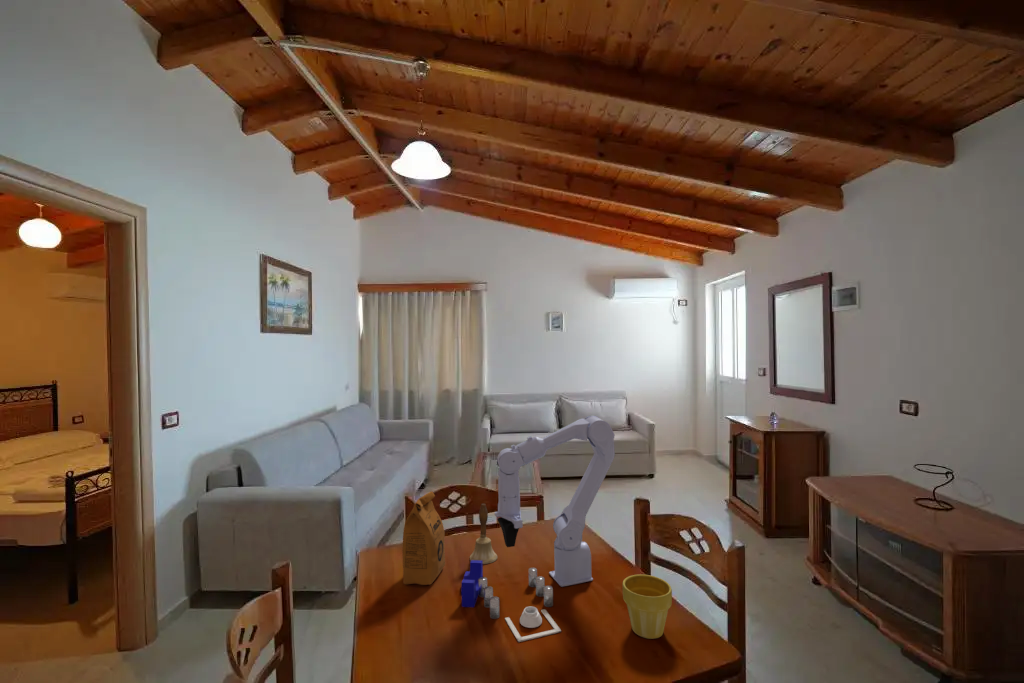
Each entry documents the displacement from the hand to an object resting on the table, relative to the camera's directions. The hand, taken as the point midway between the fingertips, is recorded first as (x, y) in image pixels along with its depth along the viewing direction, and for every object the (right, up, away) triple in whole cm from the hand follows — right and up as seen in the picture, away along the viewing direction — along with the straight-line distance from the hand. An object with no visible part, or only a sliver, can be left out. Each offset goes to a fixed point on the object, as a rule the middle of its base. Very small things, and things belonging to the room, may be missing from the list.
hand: (510, 545), depth 125 cm
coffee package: (-23, -10, +3) cm, 26 cm away
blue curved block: (-10, -10, -6) cm, 15 cm away
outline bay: (+5, -9, -20) cm, 22 cm away
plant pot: (+30, -9, -22) cm, 39 cm away
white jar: (+5, -10, -19) cm, 22 cm away
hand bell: (-8, -10, +14) cm, 19 cm away
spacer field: (+1, -9, -9) cm, 13 cm away
